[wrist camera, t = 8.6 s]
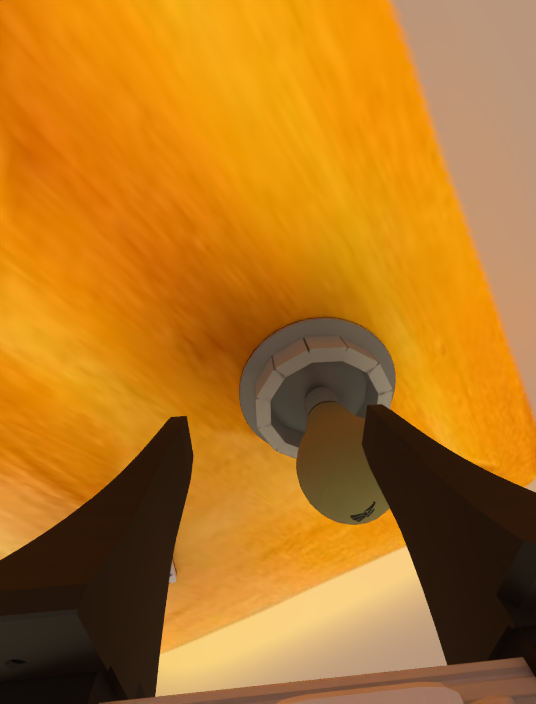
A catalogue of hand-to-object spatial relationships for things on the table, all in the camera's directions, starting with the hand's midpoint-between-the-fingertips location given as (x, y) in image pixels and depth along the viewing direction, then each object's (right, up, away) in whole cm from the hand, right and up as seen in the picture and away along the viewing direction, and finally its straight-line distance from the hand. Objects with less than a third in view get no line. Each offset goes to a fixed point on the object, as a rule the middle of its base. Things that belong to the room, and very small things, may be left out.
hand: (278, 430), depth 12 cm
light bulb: (+4, 0, +12) cm, 12 cm away
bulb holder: (+3, 0, +12) cm, 12 cm away
